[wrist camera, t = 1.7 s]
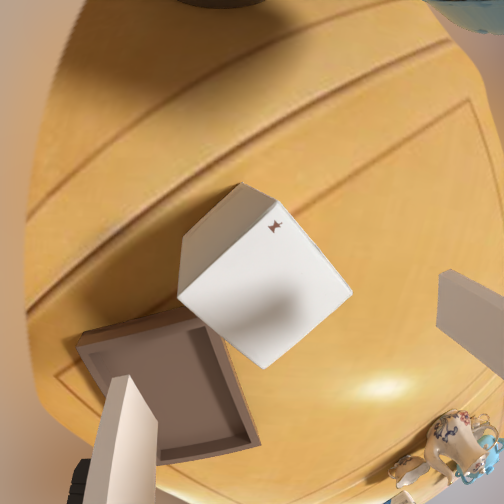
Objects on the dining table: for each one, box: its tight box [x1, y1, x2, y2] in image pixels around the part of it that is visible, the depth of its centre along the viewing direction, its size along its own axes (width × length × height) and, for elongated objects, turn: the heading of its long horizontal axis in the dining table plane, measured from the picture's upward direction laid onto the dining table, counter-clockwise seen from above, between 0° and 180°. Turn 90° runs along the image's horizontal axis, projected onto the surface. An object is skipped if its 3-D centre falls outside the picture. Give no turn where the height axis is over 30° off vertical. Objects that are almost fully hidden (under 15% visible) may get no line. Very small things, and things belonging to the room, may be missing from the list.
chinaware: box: [388, 409, 499, 489], centre depth 40 cm, size 28×17×17 cm, turn 107°
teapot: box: [455, 435, 504, 485], centre depth 53 cm, size 15×17×11 cm
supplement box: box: [177, 182, 353, 369], centre depth 22 cm, size 7×7×13 cm
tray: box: [75, 306, 261, 466], centre depth 30 cm, size 20×14×3 cm
